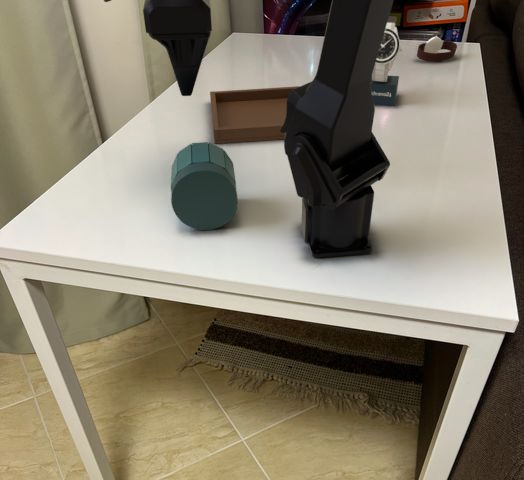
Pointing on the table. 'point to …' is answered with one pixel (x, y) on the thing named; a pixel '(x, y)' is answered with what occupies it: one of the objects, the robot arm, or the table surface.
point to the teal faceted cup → (203, 186)
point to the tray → (249, 114)
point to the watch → (386, 68)
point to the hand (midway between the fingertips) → (186, 80)
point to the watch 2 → (436, 50)
